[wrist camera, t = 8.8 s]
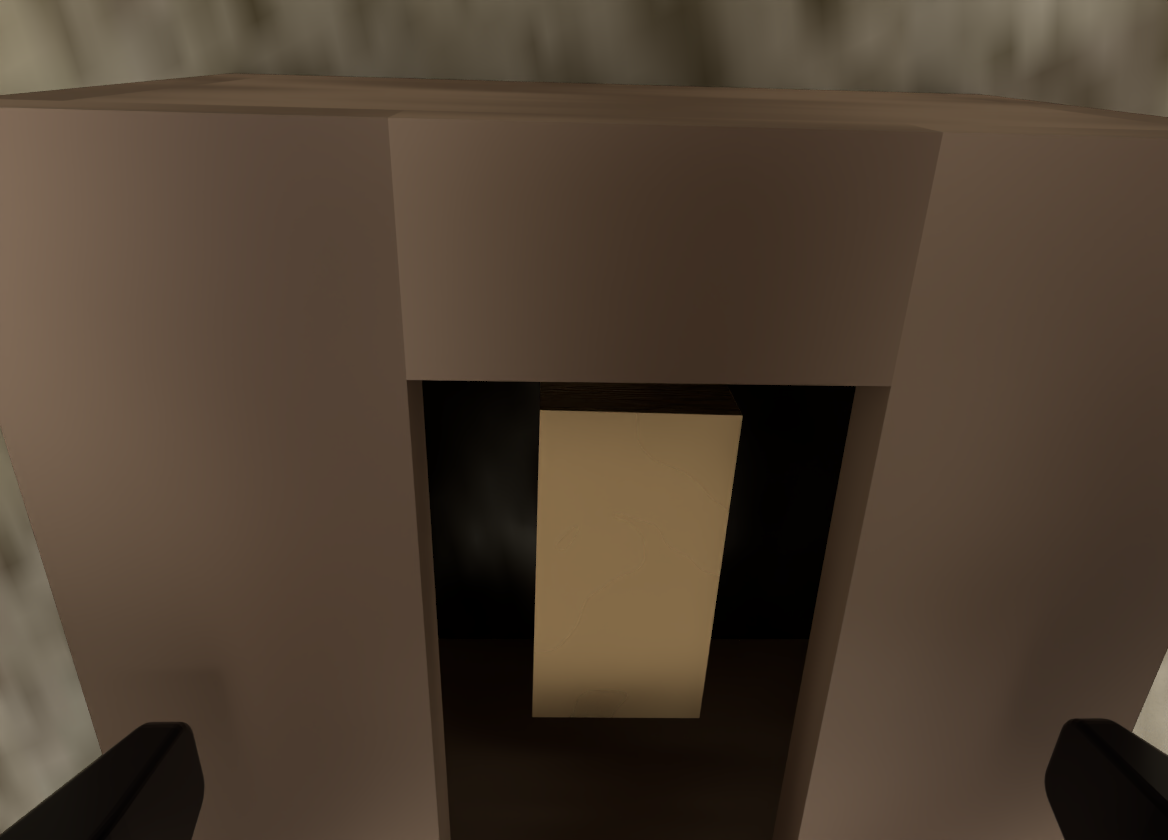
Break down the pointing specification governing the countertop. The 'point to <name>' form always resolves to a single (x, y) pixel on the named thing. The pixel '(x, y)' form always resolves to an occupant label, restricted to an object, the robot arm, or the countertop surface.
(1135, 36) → the countertop surface
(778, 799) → the box
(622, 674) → the tan flat block
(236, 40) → the countertop surface
